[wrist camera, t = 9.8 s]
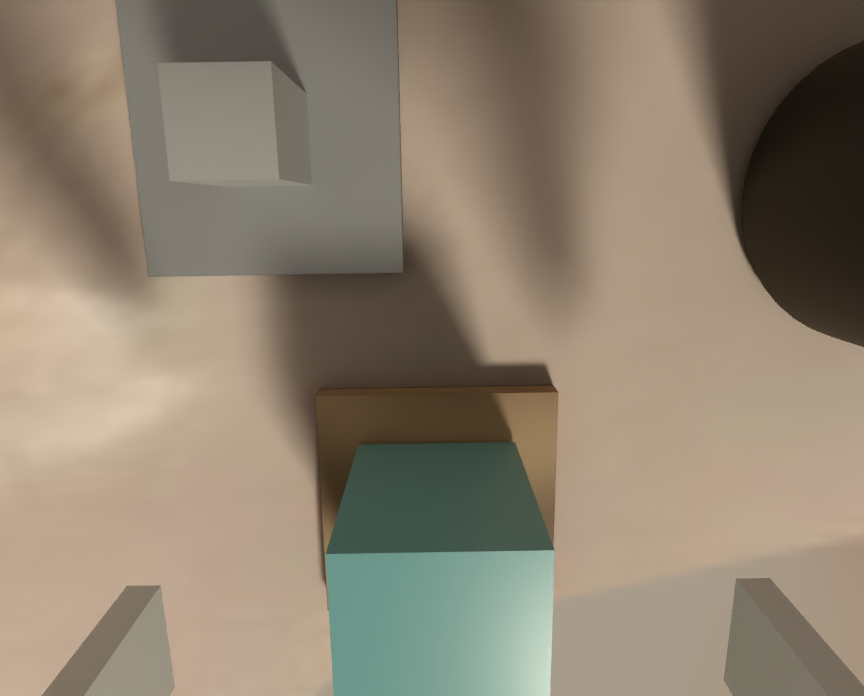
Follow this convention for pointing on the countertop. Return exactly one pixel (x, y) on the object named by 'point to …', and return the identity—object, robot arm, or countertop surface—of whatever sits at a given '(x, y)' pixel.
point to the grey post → (265, 135)
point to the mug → (813, 200)
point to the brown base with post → (436, 431)
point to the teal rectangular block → (440, 574)
